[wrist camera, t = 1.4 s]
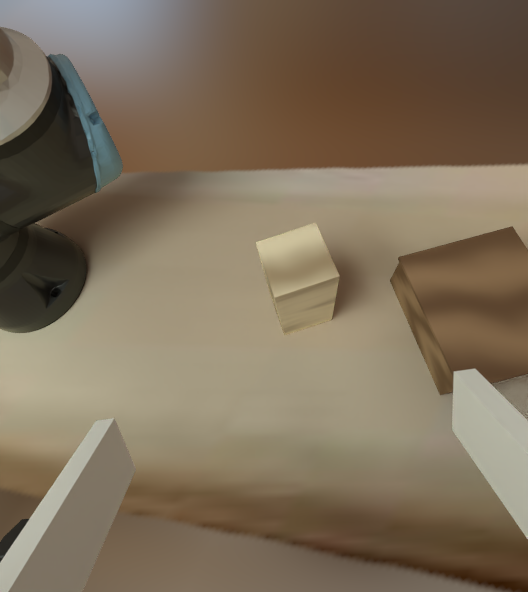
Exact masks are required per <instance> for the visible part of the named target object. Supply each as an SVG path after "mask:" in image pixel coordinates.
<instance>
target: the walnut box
mask: <svg viewBox="0 0 528 592" xmlns="http://www.w3.org/2000/svg"><path fill="white" fill-rule="evenodd" d="M398 260H399V264H398V266H397V268H396V270H395V272H394V274H393V276H392V278H391V280H390V282H391V284H392V286H393V289H394V291H395V293H396V295H397V298H398V300H399V302H400V305H401V307H402V309H403V311H404V314H405V316H406V318H407V321H408V323H409V325H410V327H411V330H412V332H413V334H414V337H415V339H416V341H417V343H418V346H419V348H420V350H421V353H422V355H423V357H424V359H425V362H426V364H427V366H428V369H429V371H430V373H431V375H432V378H433V380H434V382H435V385H436V387H437V389H438V391H439V394H440V395H443V394H447V393H451V392H453V379H454V371H461V370H468V369H476V370H477V371H478V372H479V373H480V374H481V375H482V376H483V377H484V378H485V379H486V380H487V381H488V382H489V383H494V382H498V381H501V380H505V379H509V378H513V377H517V376H521V375H525V374H528V250H527V248H526V247H525V245H524V244H523V242H522V241H521V239H520V237H519V236H518V234H517V233H516V231H515V230H514V228H513V227H509V228H505V229H501V230H497V231H494V232H490V233H486V234H483V235H479V236H475V237H472V238H468V239H464V240H460V241H457V242H453V243H449V244H446V245H442V246H438V247H435V248H431V249H427V250H423V251H420V252H416V253H412V254H409V255H405V256H401V257H399V258H398Z"/></svg>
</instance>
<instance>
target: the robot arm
mask: <svg viewBox="0 0 528 592" xmlns="http://www.w3.org/2000/svg"><path fill="white" fill-rule="evenodd" d="M122 168H123V165H122V160H121V158H120V155H119V153H118V151H117V149H116V146H115V144H114V142H113V140H112V138H111V136H110V134H109V132H108V130H107V128H106V126H105V124H104V123H103V121H102V119H101V118H100V116H99V113H98V111H97V109H96V107H95V105H94V103H93V101H92V99H91V97H90V95H89V93H88V92H87V90H86V88H85V86H84V84H83V82H82V80H81V79H80V77H79V75H78V73H77V71H76V70H75V68H74V66H73V64H72V63H71V61H70V60H69V59H68V58H67V57H66V56H65V55H63V54H58V55H52V54H50V55H49V56H48V57H46V55H45V54H44V52H43V51H42V50H41V49H40V47H39V46H38V45H37V44H36V43H34V41H33V40H32V39H30V38H29V37H27V36H26V35H24V34H22V33H20V32H17V31H15V30H12V29H8V28H4V27H0V329H2V330H5V331H8V332H13V333H25V332H31V331H34V330H38V329H40V328H43V327H45V326H47V325H49V324H50V323H52V322H54V321H55V320H57V319H58V318H59V317H60V316H62V315H63V314H64V313H65V312H66V311H67V310H68V309H69V308H70V307H71V305H72V304H73V303H74V301H75V300H76V298H77V297H78V295H79V293H80V291H81V289H82V287H83V284H84V281H85V277H86V261H85V257H84V254H83V252H82V251H81V249H80V248H79V247H78V246H77V245H76V244H75V243H74V242H73V241H72V240H70V239H69V238H68V237H67V236H65V235H64V234H62V233H60V232H58V231H55V230H52V229H49V228H43V227H41V226H39V225H37V224H35V222H37V221H39V220H41V219H43V218H45V217H47V216H49V215H51V214H53V213H55V212H57V211H59V210H61V209H63V208H65V207H67V206H69V205H71V204H73V203H75V202H77V201H79V200H81V199H83V198H85V197H87V196H89V195H91V194H93V193H97V192H99V191H100V189H101V188H102V187H104V186H105V185H107V184H108V183H110V182H112V181H113V180H115V179H117V178H118V177H119V176H120V174H121V172H122ZM452 431H453V432H454V433H455V435H456V436H457V438H458V439H459V441H460V442H461V444H462V445H463V446H464V448H465V449H466V451H467V452H468V454H469V455H470V457H471V458H472V459H473V461H474V462H475V464H476V465H477V467H478V468H479V470H480V471H481V472H482V474H483V475H484V477H485V478H486V480H487V481H488V483H489V484H490V486H491V487H492V488H493V490H494V491H495V493H496V494H497V496H498V497H499V499H500V500H501V501H502V503H503V504H504V506H505V507H506V509H507V510H508V512H509V513H510V514H511V516H512V517H513V519H514V520H515V522H516V523H517V525H518V526H519V527H520V529H521V530H522V532H523V533H524V535H525V536H526V538H527V539H528V420H527V419H526V418H525V417H524V416H523V415H522V414H521V413H520V412H519V411H518V410H517V409H516V408H515V407H514V406H513V405H512V404H511V403H510V402H509V401H508V400H507V399H506V398H505V397H504V396H503V395H502V394H500V393H499V392H498V391H497V390H496V389H495V388H494V387H493V386H492V385H491V384H490V383H489V382H488V381H487V380H486V379H485V378H484V377H483V376H482V375H481V374H480V373H479V372H478V371H477V370H476V369H468V370H461V371H454V379H453V413H452ZM135 470H136V468H135V466H134V463H133V461H132V458H131V456H130V454H129V451H128V449H127V447H126V444H125V442H124V439H123V437H122V435H121V432H120V430H119V428H118V425H117V423H116V420H115V418H111V419H104V420H97V421H96V422H95V423H94V425H93V426H92V428H91V429H90V431H89V432H88V434H87V435H86V436H85V438H84V439H83V441H82V442H81V444H80V445H79V447H78V448H77V450H76V451H75V453H74V454H73V456H72V457H71V459H70V460H69V462H68V463H67V465H66V466H65V468H64V469H63V470H62V472H61V473H60V475H59V476H58V478H57V479H56V481H55V482H54V484H53V485H52V487H51V488H50V490H49V491H48V493H47V494H46V496H45V497H44V499H43V500H42V501H41V503H40V504H39V506H38V507H37V509H36V510H35V512H34V513H33V515H32V516H31V518H30V519H22V520H21V521H20V522H19V523H18V524H17V525H16V526H15V527H14V528H13V529H12V530H11V531H10V532H9V533H7V535H5V536H4V537H3V539H2V540H1V542H0V592H82V591H83V589H84V586H85V584H86V582H87V580H88V577H89V575H90V573H91V570H92V568H93V566H94V564H95V562H96V559H97V557H98V555H99V552H100V550H101V548H102V546H103V543H104V541H105V539H106V536H107V534H108V532H109V530H110V527H111V525H112V523H113V520H114V518H115V516H116V514H117V511H118V509H119V507H120V504H121V502H122V500H123V498H124V495H125V493H126V491H127V489H128V486H129V484H130V482H131V479H132V477H133V475H134V473H135Z"/></svg>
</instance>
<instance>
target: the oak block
mask: <svg viewBox="0 0 528 592" xmlns="http://www.w3.org/2000/svg"><path fill="white" fill-rule="evenodd" d="M255 243H256V246H257V250H258V253H259V257H260V260H261V264H262V267H263V271H264V274H265V278H266V281H267V285H268V288H269V292H270V295H271V298H272V300H273V303H274V306H275V309H276V312H277V315H278V318H279V321H280V324H281V327H282V330H283V333H284V335H287V334H290V333H293V332H296V331H299V330H302V329H305V328H308V327H311V326H314V325H317V324H320V323H323V322H326V321H329V320H332V316H333V311H334V305H335V299H336V294H337V288H338V283H339V277H340V276H339V273H338V271H337V269H336V267H335V264H334V262H333V260H332V258H331V256H330V253H329V251H328V249H327V247H326V244H325V242H324V240H323V238H322V236H321V233H320V231H319V229H318V227H317V224H316V223H313V224H310V225H307V226H304V227H301V228H297V229H294V230H291V231H288V232H285V233H282V234H279V235H276V236H273V237H270V238H267V239H264V240H261V241H258V242H255Z"/></svg>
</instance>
